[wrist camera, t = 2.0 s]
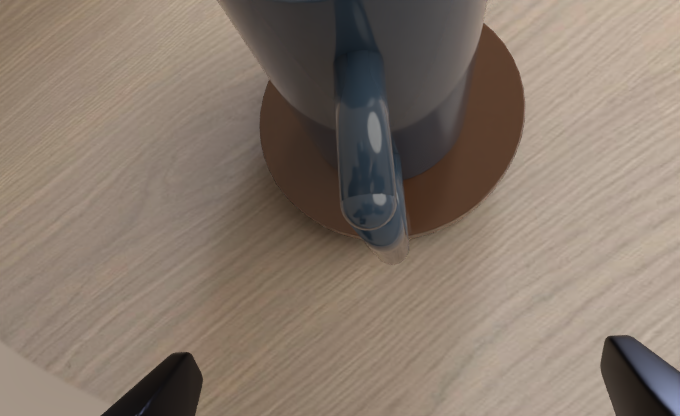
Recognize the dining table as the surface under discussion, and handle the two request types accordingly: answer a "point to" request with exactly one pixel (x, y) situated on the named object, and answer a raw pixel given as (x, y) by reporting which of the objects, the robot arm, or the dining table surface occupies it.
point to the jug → (383, 111)
